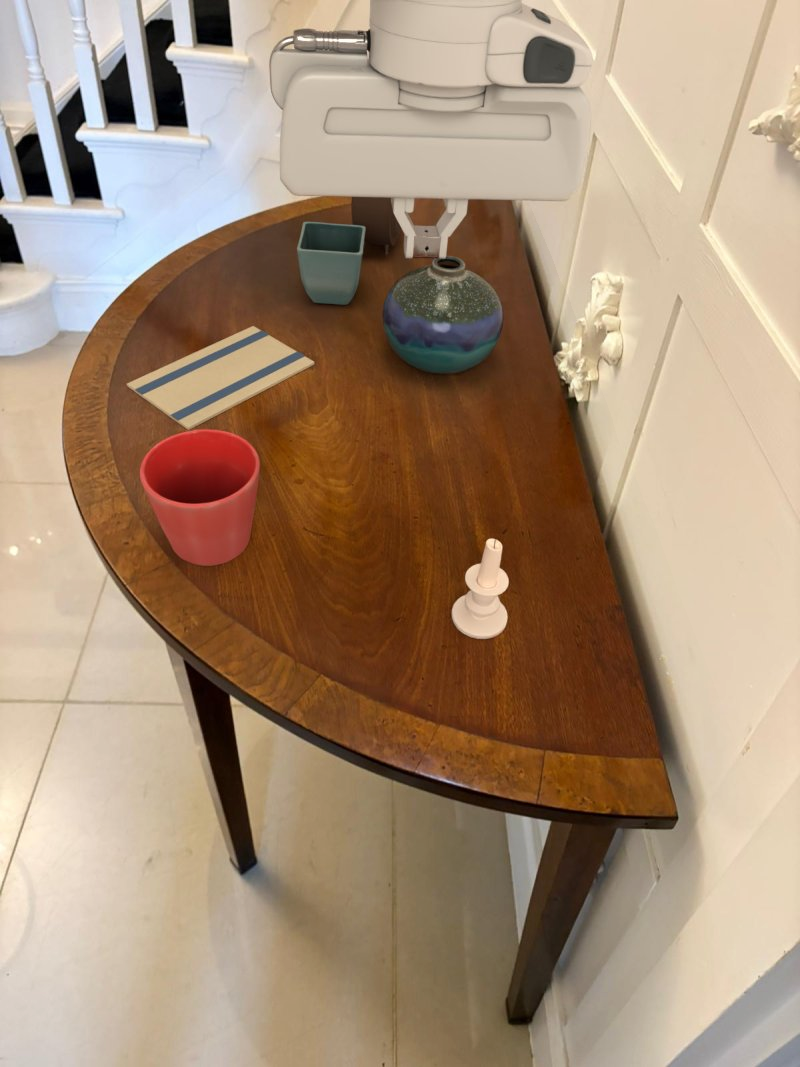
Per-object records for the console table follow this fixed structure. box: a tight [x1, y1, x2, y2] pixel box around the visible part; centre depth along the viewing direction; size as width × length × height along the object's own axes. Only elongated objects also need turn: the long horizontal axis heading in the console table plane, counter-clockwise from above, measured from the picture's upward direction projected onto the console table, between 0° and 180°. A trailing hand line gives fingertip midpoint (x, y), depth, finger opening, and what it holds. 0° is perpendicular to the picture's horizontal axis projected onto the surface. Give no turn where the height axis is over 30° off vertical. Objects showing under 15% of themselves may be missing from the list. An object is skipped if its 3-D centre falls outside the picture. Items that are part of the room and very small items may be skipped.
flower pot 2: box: [296, 221, 366, 306], centre depth 111 cm, size 9×9×9 cm
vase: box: [381, 255, 504, 375], centre depth 99 cm, size 15×15×13 cm
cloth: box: [126, 325, 316, 431], centre depth 98 cm, size 20×12×1 cm, turn 138°
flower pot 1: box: [139, 428, 261, 567], centre depth 75 cm, size 11×11×10 cm
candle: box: [451, 538, 510, 640], centre depth 70 cm, size 5×5×10 cm
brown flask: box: [350, 197, 402, 257], centre depth 119 cm, size 15×7×20 cm, turn 169°
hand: (424, 255), depth 57 cm, fingers closed
